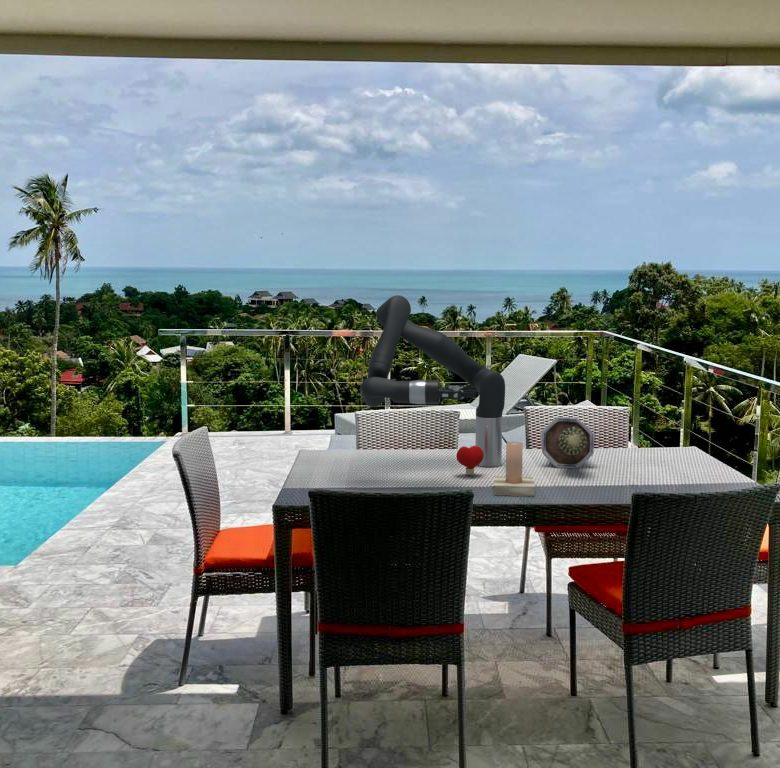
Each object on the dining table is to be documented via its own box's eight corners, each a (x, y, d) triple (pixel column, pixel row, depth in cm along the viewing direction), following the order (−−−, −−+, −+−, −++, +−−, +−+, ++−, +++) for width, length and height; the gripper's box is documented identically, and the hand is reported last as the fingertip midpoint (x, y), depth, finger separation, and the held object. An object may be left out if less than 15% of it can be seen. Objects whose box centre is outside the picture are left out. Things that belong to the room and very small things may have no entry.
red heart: (460, 479, 276) (460, 449, 274) (452, 474, 282) (453, 445, 281) (487, 477, 278) (487, 447, 277) (478, 472, 285) (479, 443, 284)
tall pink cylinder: (505, 479, 263) (506, 441, 262) (521, 479, 263) (522, 441, 261) (505, 483, 258) (506, 444, 257) (522, 483, 258) (522, 445, 256)
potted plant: (539, 418, 306) (546, 411, 276) (590, 421, 304) (602, 415, 275) (537, 467, 304) (544, 465, 274) (587, 470, 302) (600, 469, 273)
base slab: (494, 485, 267) (494, 476, 267) (532, 486, 266) (532, 477, 266) (494, 495, 256) (494, 485, 255) (534, 496, 254) (534, 487, 254)
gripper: (422, 383, 259) (476, 383, 257) (426, 377, 273) (476, 377, 271) (423, 407, 260) (476, 407, 258) (426, 400, 274) (476, 400, 272)
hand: (476, 392), depth 264 cm, fingers open, 8 cm apart
